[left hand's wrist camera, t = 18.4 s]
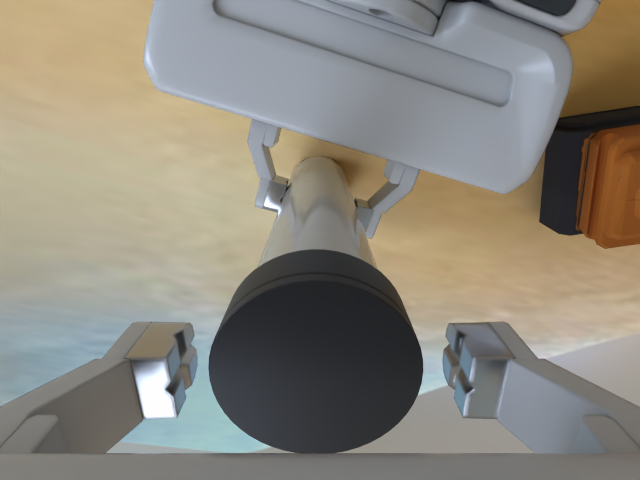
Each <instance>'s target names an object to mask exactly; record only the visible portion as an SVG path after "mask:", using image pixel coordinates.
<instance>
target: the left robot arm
mask: <svg viewBox="0 0 640 480" xmlns="http://www.w3.org/2000/svg"><path fill="white" fill-rule="evenodd" d="M193 338H194V331H193V326H192V325H191V323H184V322H134V323H132V324H131V325H130V326H129V327H128V328H127V330H126V331H125V332H124V333H123V334H122V335H121V337H120V338H119V339H118V340H117V341H116V343H115V344H114V345H113V346H112V347H111V348H110V350H109V351H108V352H107V353H106V354H105V355H104V357H103V358H102V359H94V360H92V361H90V362H88V363H86V364H84V365H83V366H81V367H79V368H77V369H75V370H73V371H71V372H69V373H67V374H65V375H63V376H61V377H59V378H57V379H55V380H53V381H51V382H49V383H47V384H45V385H43V386H41V387H39V388H37V389H35V390H33V391H31V392H29V393H27V394H25V395H23V396H21V397H19V398H17V399H15V400H13V401H11V402H9V403H7V404H5V405H3V406H1V407H0V480H640V407H639V406H637V405H635V404H633V403H631V402H629V401H627V400H625V399H623V398H621V397H619V396H617V395H615V394H613V393H611V392H609V391H607V390H605V389H603V388H601V387H599V386H597V385H595V384H593V383H591V382H589V381H587V380H585V379H583V378H581V377H579V376H577V375H575V374H573V373H571V372H569V371H567V370H565V369H563V368H561V367H559V366H557V365H555V364H553V363H552V362H550V361H548V360H546V359H538V358H537V357H536V356H535V354H534V353H533V352H532V351H531V350H530V348H529V347H528V346H527V345H526V344H525V343H524V341H523V340H522V339H521V338H520V337H519V335H518V334H517V333H516V332H515V331H514V330H513V328H512V327H511V326H510V325H509V324H508V323H506V322H481V323H449V324H448V327H447V330H446V338H447V340H448V342H449V345H448V346H447V347H446V348H445V349H444V351H443V360H442V361H443V371H444V375H445V379H446V381H447V383H448V385H449V386H450V387H452V388H453V389H454V390H455V394H454V399H455V401H456V403H457V406H458V408H459V410H460V412H461V414H462V416H463V418H482V419H497V421H498V422H499V423H501V424H502V425H503V426H504V427H505V428H506V429H508V430H509V431H510V432H511V433H512V434H513V435H515V436H516V437H517V438H518V439H519V440H520V441H521V442H523V443H524V444H525V445H526V446H527V447H528V448H530V449H531V450H532V451H533V452H534V453H106V452H107V451H108V450H109V449H111V448H112V447H113V446H114V445H115V444H116V443H118V442H119V441H120V440H121V439H122V438H123V437H124V436H126V435H127V434H128V433H129V432H130V431H131V430H133V429H134V428H135V427H136V426H137V425H138V424H140V423H141V422H142V421H143V419H159V418H177V417H178V414H179V412H180V410H181V408H182V406H183V403H184V401H185V399H186V394H185V390H186V389H187V388H188V387H190V386H191V385H192V383H193V381H194V379H195V375H196V370H197V351H196V349H195V348H194V347H193V346H192V345H191V342H192V340H193Z"/></svg>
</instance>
